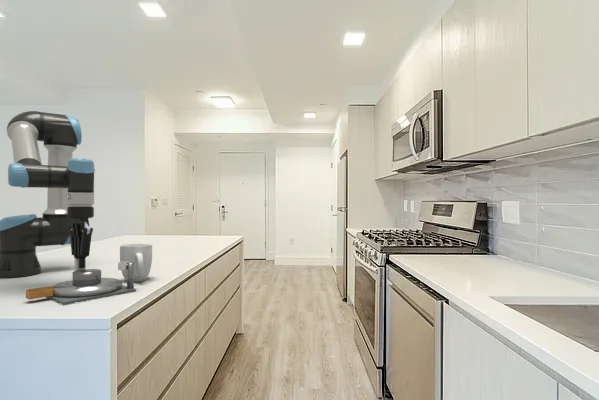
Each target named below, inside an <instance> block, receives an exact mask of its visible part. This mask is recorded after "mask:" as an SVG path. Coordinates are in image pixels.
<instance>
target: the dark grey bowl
mask: <svg viewBox="0 0 599 400" xmlns="http://www.w3.org/2000/svg"><path fill="white" fill-rule="evenodd" d="M71 278H72V279H71V280H72V285H73V286H78V287H82V286H93V285H97V284H100V283H101V278H102V269H98V268H91V269H90V268H86V269H84V270H77V271H75V270H74V271H72V277H71Z"/></svg>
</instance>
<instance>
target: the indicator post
mask: <svg viewBox="0 0 599 400" xmlns="http://www.w3.org/2000/svg"><path fill="white" fill-rule="evenodd" d="M117 270H118V271H121V270H127V281H126V284H127V285H126V286H127V289H132V288H134V289H135V282H134V262H130V261H121V262H120V261H119V262H117Z"/></svg>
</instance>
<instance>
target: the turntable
mask: <svg viewBox="0 0 599 400" xmlns="http://www.w3.org/2000/svg"><path fill="white" fill-rule="evenodd" d="M122 285H123V280H121V279H120V278H115V277H114V278H113V277H101V283H100V284H97V285H93V286H82V287H78V286H73V285H72V279H71V280H67V281H61V282H58V283H55V284H52V285H47V286H42V287H35V288H27V289H25V299H26V300H36V299H42V298H46V297H49V296H60V297H80V296H91V295H98V294H103V293H108V292H112V291H115V290H118V289H120V288H121V287H122Z"/></svg>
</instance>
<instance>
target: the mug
mask: <svg viewBox="0 0 599 400" xmlns="http://www.w3.org/2000/svg"><path fill="white" fill-rule="evenodd" d="M121 261H130V262H134V283H135V282H136V283H138V282H143V281H145V280H147V278H148V277H149V275H150V272H151V268H152V264H153V263H152V262H153V244H152V243H142V242H135V243H134V242H133V243H125V244H120V245H119V262H121ZM120 271H121V273H122V274H121V275H122V276H123V278H124V280H125V281H126V282H127V270H120Z"/></svg>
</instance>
